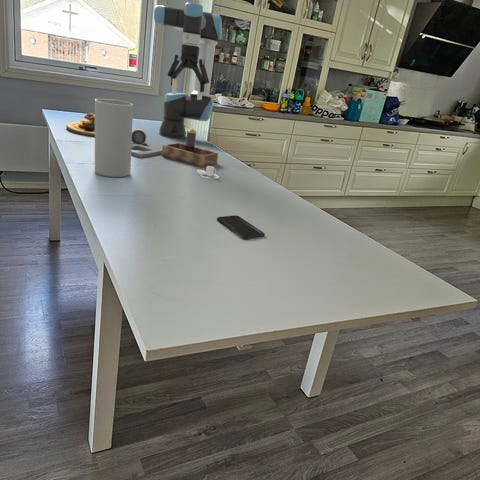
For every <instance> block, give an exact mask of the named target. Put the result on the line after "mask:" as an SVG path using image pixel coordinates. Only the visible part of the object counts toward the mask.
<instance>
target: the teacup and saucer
mask: <svg viewBox="0 0 480 480" xmlns="http://www.w3.org/2000/svg"><path fill="white" fill-rule="evenodd" d="M205 168H206V169H205V170H206V171H205V170H204V169H197V171H196V173H197V174H198V175H199V176H200V177H202V178H205V179H211V180H212V179H213V180H214V179H219V178H220V176H219V175H218V174H216V173H217V169H216V168H215V166H214V165H211V166H207V167H205ZM214 171H215V172H214ZM212 176H214V177H212Z"/></svg>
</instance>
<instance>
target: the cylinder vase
mask: <svg viewBox="0 0 480 480" xmlns="http://www.w3.org/2000/svg"><path fill="white" fill-rule="evenodd" d="M133 112H134V103H132V102H129V101H126V100H121V99H120V100H119V99H112V98H111V99H110V98H109V99H108V98H95V99H94V116H95V137H94V172H95V173H96V174H98V175H100V176H103V177H107V178H108V177H109V178H123V177H127V176H129V175H130V174H131V168H132V167H131V166H132V165H131V164H132V155H131V146H132V144H133V142H132V132H133V116H134V113H133Z"/></svg>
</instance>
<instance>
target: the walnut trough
mask: <svg viewBox="0 0 480 480" xmlns="http://www.w3.org/2000/svg"><path fill="white" fill-rule="evenodd" d="M161 149H162V150H161V151H162V154H161V157H164V158H167V159H171V160H174V161H178V162H181V163H185V164H189V165H192V166H196V167H200V168H202V167H203V168H206V166H210V165H211V166H214V164H215V165H217V164H218V158H219V152H215V151H212V150H208V149H205V148H201V147H196V146H195V150H194V153H193V152H189V151H185V150H186V143H182V142H173V143H167V144H163V145H162V147H161Z"/></svg>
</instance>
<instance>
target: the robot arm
mask: <svg viewBox="0 0 480 480" xmlns="http://www.w3.org/2000/svg"><path fill="white" fill-rule="evenodd" d="M203 7H204V6H203V5H202V4H199V3H194V2H186V3H185V4H184V8H179V7H173V6H168V5H164V4H163V5H159V4H157V5H156V6H155V7H154V9H153V19H154V20H153V21H154V23H155V24H156V25H160V26H166V27H171V28H174V29H176V30H177V31H179V32H181V33H182V40H181V42H182V45H181V52H180V53H181V55H180V54H174V55H175V56H174V60H173V62H172V64H171V66H170V69H169V70H168V71H167V76H168V77H170V79H171V81H170V86H171V92H168V93H166V94H165V95H164V101H163V116H162V117H163V120H162V122H161V125H160V128H159V132H158V134H159V135H160V136H163V137H167V138H173V139H174V138H175V139H184V138H187V131H186V126H185V119H189V120H194V121H199V122H201V121H202V122H208V121H209V120H210V118H211V116H212V112H213V109H214V100H213V99H212V96H211V94H210V90H211V89H210V88H211V82H212V81H211V79H212V72H213V62H214V55H215V48H216V46H218V44H219V41H220V40H222V38H223V23H222V22H223V21H222V16H221V15H219V14H217V13H213V12H207V11H206V12H205V11H203V10H204V8H203ZM180 61H181V62H180ZM179 63H180V64H179ZM184 69H190V70H193V72H194V83H193V91H192V92H190V94H189V95H190V96H187V93H184V92H177V91H178V90H177V89H178V78H177V77H178V76H179V75H180V74H181V72H182V71H183V70H184Z"/></svg>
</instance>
